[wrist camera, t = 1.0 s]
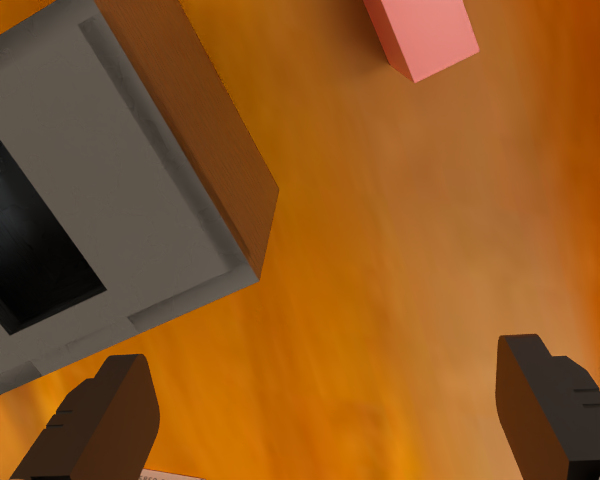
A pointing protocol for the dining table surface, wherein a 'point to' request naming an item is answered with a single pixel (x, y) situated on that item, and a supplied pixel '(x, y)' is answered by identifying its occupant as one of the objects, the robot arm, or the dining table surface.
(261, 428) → the dining table surface
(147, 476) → the blue tall cardboard box
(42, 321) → the grey slotted box
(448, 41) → the red rectangular block
